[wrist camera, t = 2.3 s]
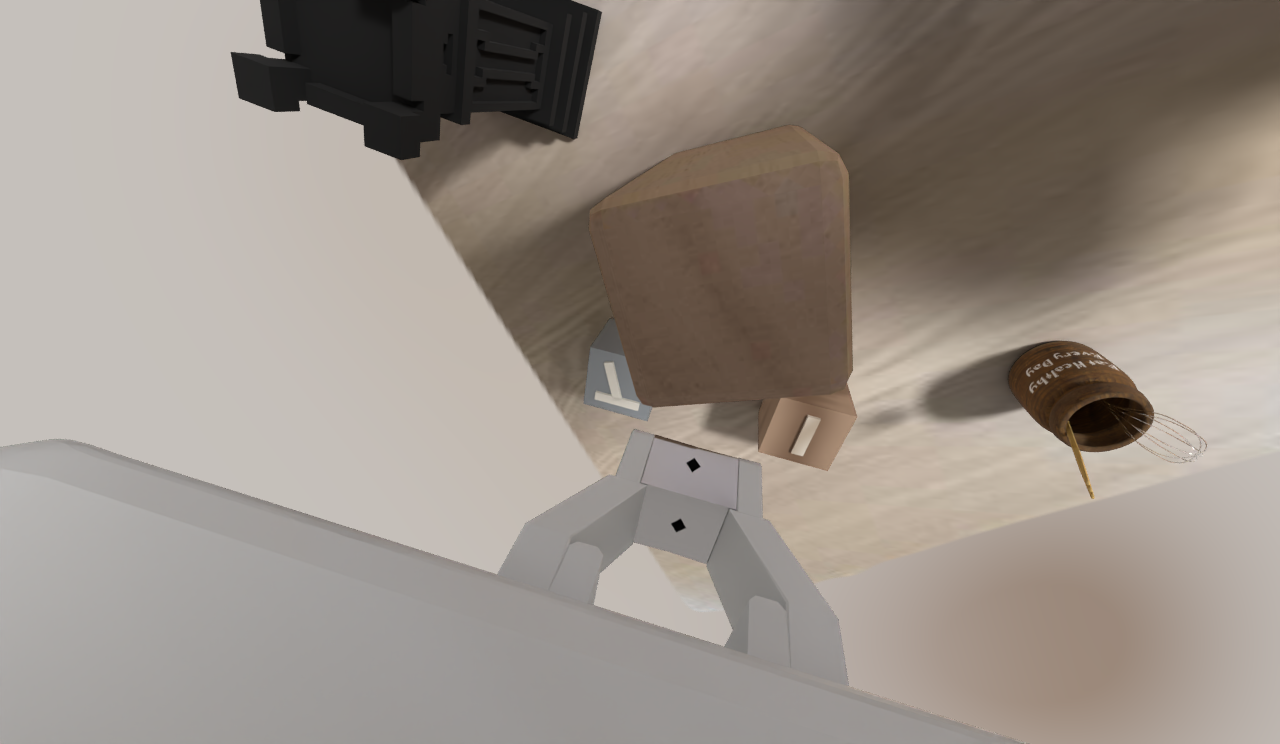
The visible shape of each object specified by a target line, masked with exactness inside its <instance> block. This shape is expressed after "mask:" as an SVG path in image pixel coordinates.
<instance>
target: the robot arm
mask: <svg viewBox="0 0 1280 744" xmlns="http://www.w3.org/2000/svg"><path fill="white" fill-rule="evenodd" d="M654 436H655V437H654ZM633 542H634V543H638V544H642V545H646V546H649V547H653V548H657V549H660V550H664V551H668V552H671V553H674V554H677V555H680V556H683V557H686V558H689V559H692V560H695V561H698V562H701V563H704V564H707V569H708V571H709V573H710V576H711V578H712V581H713V583H714V586H715V588H716V590H717V593H718V595H719V598H720V600H721V602H722V605H723V607H724V610H725V612H726V614H727V617H728V619H729V622H730V624H731V627H732V629H733V631H732V633H731V635H730V637H729V639H728V641H727V643H726V644H725V646H724V647H723V646H720V645H717V644H714V643H711V642H707V641H704V640H701V639H698V638H695V637H692V636H689V635H686V634H682V633H679V632H676V631H673V630H670V629H667V628H664V627H660V626H657V625H654V624H651V623H648V622H645V621H642V620H638V619H635V618H632V617H629V616H626V615H623V614H620V613H616V612H613V611H610V610H607V609H604V608H601V607H598V606H595V605H594V599H595V595H596V590H597V584H598V580H599V574H600V573H601V572H602V571H603V570H604V569H605V568H606V567H608V566H609V565H610V564H611V563H612V562H613V561H614V560H615V559H616V558H618V557H619V556H620V555H621V554H622V553H623V552H624V551H626V550H627V549H628V548H629V547H630V546H631V545H632V544H633ZM0 744H1029V743H1025V742H1023V741H1019V740H1016V739H1013V738H1010V737H1007V736H1004V735H1001V734H998V733H994V732H991V731H988V730H985V729H982V728H979V727H976V726H972V725H969V724H966V723H963V722H960V721H957V720H953V719H950V718H947V717H944V716H941V715H938V714H934V713H931V712H928V711H925V710H922V709H919V708H915V707H913V706H909V705H906V704H903V703H900V702H897V701H894V700H890V699H887V698H884V697H881V696H878V695H875V694H871V693H869V692H865V691H862V690H859V689H856V688H853V687H850V686H849V683H848V676H847V671H846V664H845V658H844V651H843V645H842V639H841V632H840V626H839V619H838V618H837V616H836V615H835V613H834V612H833V610H832V609H831V608H830V606H829V605H828V603H827V602H826V601H825V599H824V598H823V596H822V595H821V594H820V592H819V591H818V589H817V588H816V586H815V585H814V583H813V582H812V581H811V579H810V578H809V576H808V575H807V573H806V572H805V571H804V569H803V568H802V566H801V565H800V563H799V562H798V561H797V559H796V558H795V556H794V555H793V553H792V552H791V551H790V549H789V548H788V546H787V545H786V543H785V542H784V541H783V539H782V538H781V536H780V535H779V533H778V532H777V531H776V529H775V528H774V526H773V525H772V523H771V522H770V521H769V520H766V519H763V504H762V466H761V464H760V463H757V462H753V461H749V460H745V459H741V458H736V457H732V456H728V455H724V454H721V453H717V452H713V451H709V450H706V449H702V448H698V447H695V446H692V445H688V444H685V443H682V442H678V441H675V440H672V439H668V438H665V437H662V436H658V435H654V434H650V433H647V432H644V431H640V430H637V429H634V430H633V431H632V433H631V436H630V438H629V441H628V444H627V446H626V449H625V452H624V454H623V457H622V460H621V462H620V465H619V468H618V470H617V473H616V475H615V476H613V475H607V476H606V477H604V478H602V479H600V480H599V481H597V482H595V483H594V484H592V485H590V486H588V487H587V488H585V489H584V490H582V491H580V492H578V493H577V494H575V495H573V496H572V497H570V498H568V499H567V500H564V501H563V502H561V503H559V504H558V505H556V506H554V507H553V508H551V509H549V510H547V511H546V512H544V513H542V514H540V515H539V516H537V517H535V518H534V519H532V520H530V521H528V522H527V523H525V525H524V527H523V529H522V531H521V532H520V534H519V536H518V538H517V540H516V541H515V543H514V545H513V547H512V549H511V550H510V552H509V554H508V556H507V558H506V559H505V561H504V563H503V565H502V567H501V569H500V570H499V572H498V574H494V573H491V572H487V571H484V570H481V569H478V568H475V567H472V566H468V565H466V564H462V563H459V562H456V561H453V560H450V559H447V558H443V557H440V556H437V555H434V554H431V553H428V552H425V551H421V550H418V549H415V548H412V547H409V546H405V545H402V544H399V543H396V542H393V541H390V540H387V539H384V538H380V537H377V536H374V535H371V534H368V533H365V532H362V531H358V530H355V529H352V528H349V527H346V526H342V525H339V524H336V523H333V522H330V521H327V520H324V519H321V518H317V517H314V516H311V515H308V514H305V513H302V512H299V511H296V510H292V509H289V508H286V507H283V506H280V505H277V504H273V503H270V502H267V501H264V500H260V499H258V498H254V497H251V496H248V495H245V494H242V493H238V492H236V491H232V490H229V489H226V488H223V487H219V486H216V485H214V484H210V483H207V482H204V481H201V480H197V479H194V478H191V477H188V476H185V475H182V474H179V473H175V472H173V471H169V470H166V469H163V468H160V467H157V466H154V465H150V464H147V463H144V462H140V461H138V460H134V459H131V458H128V457H125V456H122V455H119V454H116V453H113V452H110V451H107V450H105V449H102V448H98V447H96V446H93V445H90V444H86V443H82V442H78V441H74V440H64V439H49V440H42V441H36V442H29V443H23V444H17V445H10V446H4V447H0Z"/></svg>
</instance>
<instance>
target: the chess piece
mask: <svg viewBox="0 0 1280 744" xmlns="http://www.w3.org/2000/svg"><path fill="white" fill-rule="evenodd" d="M260 4H261V11H262V18H263V25H264V32H265V39H266V46H267V47H270V48H272V49H275V50H277V51H280V52H283V53H285V59H275V58H267V57H264V56H261V55H257V54H247V53H235V52H231V57H232V62H233V68H234V72H235V78H236V84H237V89H238V95H239V98H240V99H242V100H245V101H248V102H250V103H253V104H256V105H258V106H261V107H263V108H266V109H269V110H271V111H274V112H285V111H300V108H299V101H307V104H309V105H311V106H314V107H317V108H319V109H322V110H324V111H327V112H330V113H333V114H335V115H337V116H340V117H343V118H345V119H348V120H351V121H353V122H356V123H359V124H361V125H364V142H365V146H366V147H368V148H371V149H374V150H376V151H379V152H381V153H384V154H387V155H389V156H392V157H394V158H397V159H400V160H404V159H410V158H416V157H420V142H427V141H435V140H440V117H442V118H444V119H447V120H450V121H452V122H455V123H458V124H460V125H466V124H470V115H471V112H492V111H501V112H503V113H506V114H509V115H511V116H514V117H517V118H519V119H522V120H525V121H527V122H530V123H533V124H535V125H538V126H541V127H543V128H546V129H548V130H551V131H554V132H556V133H559V134H562V135H564V136H567V137H570V138H572V139H575V138H577V136H578V131H579V126H580V121H581V116H582V110H583V105H584V100H585V95H586V90H587V85H588V80H589V75H590V70H591V65H592V60H593V55H594V50H595V44H596V39H597V34H598V29H599V24H600V19H601V14H602V12H601V11H599V10H596V9H593V8H591V7H588V6H585V5H583V4H580V3H577V2H574V1H572V0H260Z"/></svg>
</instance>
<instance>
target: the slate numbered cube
mask: <svg viewBox="0 0 1280 744" xmlns="http://www.w3.org/2000/svg"><path fill="white" fill-rule="evenodd" d="M584 404H587V405H591V406H594V407H598V408H601V409H605V410H609V411H612V412H616V413H620V414H623V415H627V416H630V417H634V418H638V419H641V420H645V421H648V418H649V415H650V412H651V410H652V407H651V406H647V405H643V404H642V403H641V401H640V400H639V399H638V397H637V396H636V392H635V389H634V386H633V382H632V379H631V375H630V372H629V368H628V365H627V361H626V358H625V354H624V351H623V347H622V344H621V340H620V337H619V333H618V330H617V326H616V323H615V319H612V318H610V319H609V320H608V322H607V323H606V325H605V326H604V328H603V329H602V331H601V332H600V334H599V335H598V337H597V338H596V339H595V341H594V342H593V344H592V345H591V347H590V354H589V363H588V371H587V380H586V388H585V396H584Z"/></svg>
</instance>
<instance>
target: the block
mask: <svg viewBox="0 0 1280 744" xmlns="http://www.w3.org/2000/svg"><path fill="white" fill-rule="evenodd" d="M589 232H590V235H591V239H592V242H593V246H594V249H595V253H596V256H597V260H598V263H599V267H600V270H601V274H602V277H603V281H604V284H605V288H606V291H607V295H608V298H609V302H610V305H611V309H612V312H613V316H614V319H615V323H616V326H617V330H618V333H619V337H620V340H621V344H622V347H623V351H624V354H625V358H626V361H627V365H628V368H629V372H630V375H631V379H632V382H633V386H634V389H635V392H636V396H637V397H638V399H639V400H640V401H641V403H642V404H643V405H647V406H651V407H664V406H678V405H692V404H706V403H720V402H733V401H747V400H761V399H775V398H789V397H803V396H817V395H831V394H833V393H836V392H839V391H841V390H844V389H845V387H846V384H847V381H848V379H849V377H850V375H851V373H852V371H853V355H852V306H851V257H850V208H849V173H848V171H847V169H846V167H845V165H844V163H843V161H842V159H841V157H840V155H839V154H838V153H837V152H836V151H834V150H833V149H831V148H830V147H829V146H827V145H826V144H824V143H823V142H821V141H820V140H819V139H817V138H816V137H814V136H813V135H812V134H810V133H809V132H807V131H806V130H804V129H803V128H802V127H799V126H794V125H786V126H782V127H778V128H774V129H770V130H766V131H762V132H758V133H754V134H750V135H746V136H742V137H738V138H734V139H730V140H726V141H722V142H718V143H714V144H710V145H706V146H702V147H698V148H694V149H690V150H686V151H682V152H678V153H675V154H673V155H672V156H670V157H668V158H667V159H665V160H664V161H662V162H661V163H659V164H658V165H656V166H654V167H653V168H651V169H650V170H648V171H647V172H645V173H644V174H642V175H640V176H639V177H637V178H636V179H634V180H633V181H631V182H629V183H628V184H626V185H625V186H623V187H622V188H620V189H619V190H617V191H615V192H614V193H612V194H611V195H609V196H608V197H606V198H605V199H603V200H602V201H601V202H599V203H598V204H597V205H596V206H594V207H593V208H592V209H591V210H590V218H589Z"/></svg>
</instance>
